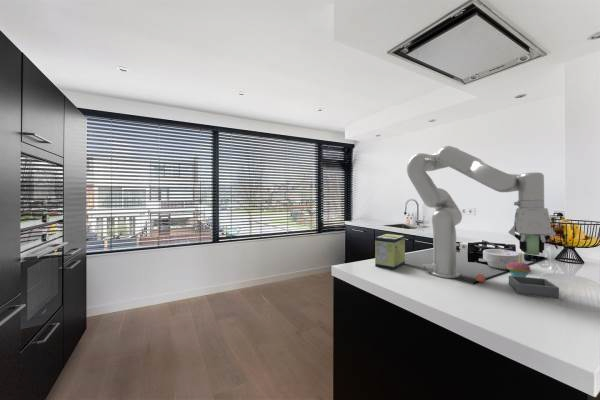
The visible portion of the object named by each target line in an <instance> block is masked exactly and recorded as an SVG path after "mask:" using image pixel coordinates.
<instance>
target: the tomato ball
mask: <svg viewBox="0 0 600 400" xmlns="http://www.w3.org/2000/svg"><path fill="white" fill-rule="evenodd" d="M475 280H476V281H477V282H478V281H479V282H478V283H484V282H486V277H485V276H484V275H483V274H481V273H479V274H476V276H475Z"/></svg>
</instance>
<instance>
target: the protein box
mask: <svg viewBox="0 0 600 400" xmlns="http://www.w3.org/2000/svg"><path fill="white" fill-rule="evenodd" d="M405 239H406V236H405V235H402V234H400V235H399V234H393V233H385V234H383V235H379V236H375V237H374V246H375V247H374V250H375V251H374V258H375V259H374V265H375V267H377V268H382V269H389V270H396V269H398V268H399V267H401V266H403V265H405V263H406V240H405Z"/></svg>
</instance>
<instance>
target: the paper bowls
mask: <svg viewBox="0 0 600 400" xmlns="http://www.w3.org/2000/svg"><path fill="white" fill-rule="evenodd" d="M520 254H521V253H520V252H518V251H514V250H510V249H509V250H508V249H501V248H489V249H484V250H483V251H482V260H483V261H485V262H487V263H486V264H488V266H489V267H491V268H495V269H498V268H499V269H500V270H508V269H507V267H506V265H507V264H508V263H510V262H513V261H515V262H519V257H520Z"/></svg>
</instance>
